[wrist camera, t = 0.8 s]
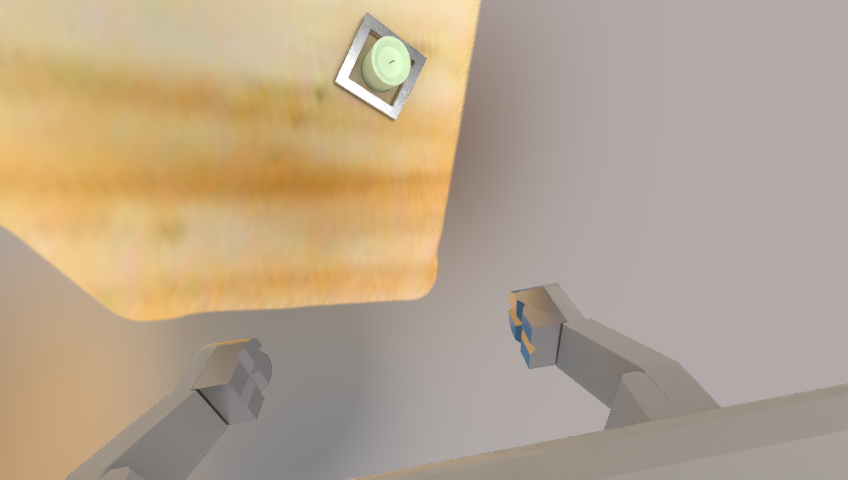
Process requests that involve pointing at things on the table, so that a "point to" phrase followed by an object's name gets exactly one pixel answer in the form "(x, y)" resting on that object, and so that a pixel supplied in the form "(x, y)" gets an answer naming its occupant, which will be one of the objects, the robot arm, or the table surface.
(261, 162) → the table surface
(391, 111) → the holder collar
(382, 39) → the candle
